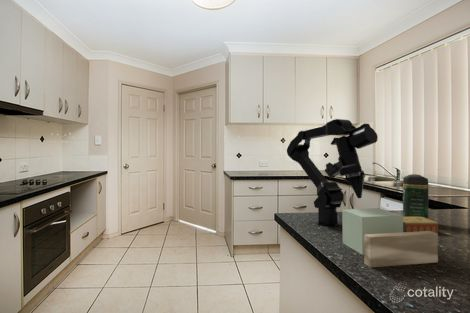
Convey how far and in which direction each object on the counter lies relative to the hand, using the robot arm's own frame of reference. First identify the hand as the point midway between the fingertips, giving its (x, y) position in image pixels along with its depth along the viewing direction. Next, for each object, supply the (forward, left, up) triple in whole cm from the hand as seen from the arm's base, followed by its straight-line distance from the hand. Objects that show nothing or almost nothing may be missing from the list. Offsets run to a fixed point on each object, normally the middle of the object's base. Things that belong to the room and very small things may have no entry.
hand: (359, 198), depth 81 cm
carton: (+14, +12, -12) cm, 23 cm away
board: (+9, -20, -12) cm, 25 cm away
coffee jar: (+19, +24, -12) cm, 33 cm away
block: (+3, -11, -12) cm, 17 cm away
